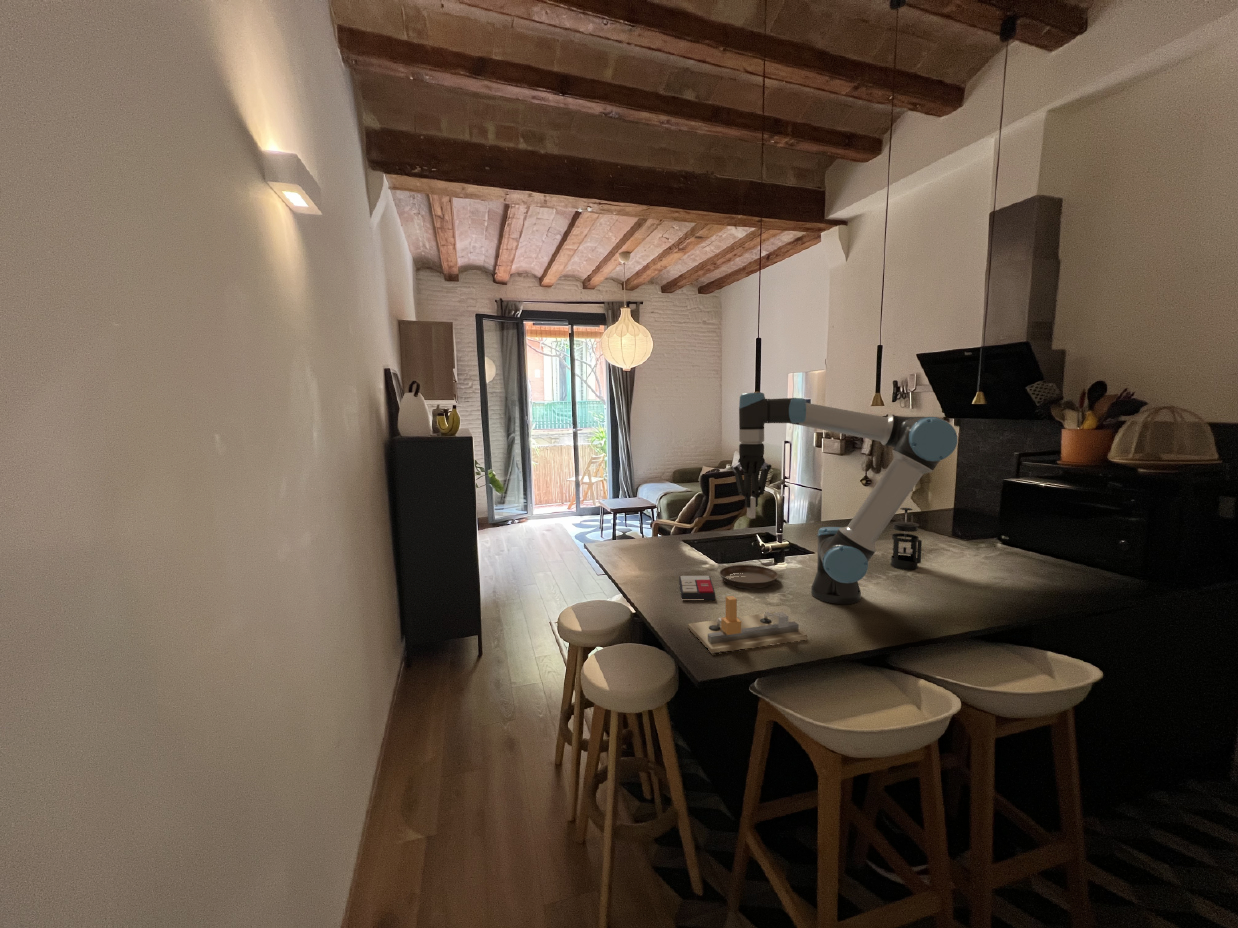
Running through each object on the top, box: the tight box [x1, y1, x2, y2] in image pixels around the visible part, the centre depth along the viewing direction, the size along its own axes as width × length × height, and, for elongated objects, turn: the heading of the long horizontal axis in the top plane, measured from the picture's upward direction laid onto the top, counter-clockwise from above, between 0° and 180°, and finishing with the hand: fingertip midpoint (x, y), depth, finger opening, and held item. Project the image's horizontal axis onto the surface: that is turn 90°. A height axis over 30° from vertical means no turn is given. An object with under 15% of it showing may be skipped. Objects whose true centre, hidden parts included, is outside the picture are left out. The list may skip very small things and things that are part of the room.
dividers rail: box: [708, 611, 800, 644], centre depth 138 cm, size 26×10×5 cm, turn 104°
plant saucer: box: [719, 564, 779, 589], centre depth 183 cm, size 21×21×3 cm
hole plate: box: [687, 611, 808, 653], centre depth 140 cm, size 28×16×2 cm, turn 104°
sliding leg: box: [716, 595, 741, 635], centre depth 136 cm, size 4×10×11 cm, turn 14°
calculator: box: [678, 575, 716, 601], centre depth 172 cm, size 11×4×15 cm
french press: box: [889, 507, 923, 571], centre depth 193 cm, size 12×9×23 cm
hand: (751, 517), depth 158 cm, fingers closed
